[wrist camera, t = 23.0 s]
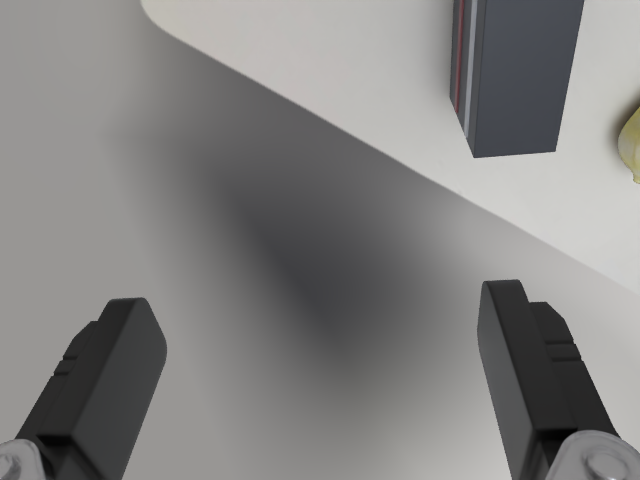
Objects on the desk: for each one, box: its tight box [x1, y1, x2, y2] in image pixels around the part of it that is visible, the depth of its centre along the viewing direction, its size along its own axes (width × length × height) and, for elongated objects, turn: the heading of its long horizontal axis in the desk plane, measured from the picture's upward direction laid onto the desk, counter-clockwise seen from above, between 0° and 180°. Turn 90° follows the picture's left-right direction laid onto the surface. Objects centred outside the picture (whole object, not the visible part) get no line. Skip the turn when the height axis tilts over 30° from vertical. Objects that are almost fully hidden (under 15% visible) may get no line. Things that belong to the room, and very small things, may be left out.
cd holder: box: [450, 0, 584, 158], centre depth 32 cm, size 10×5×10 cm, turn 7°
